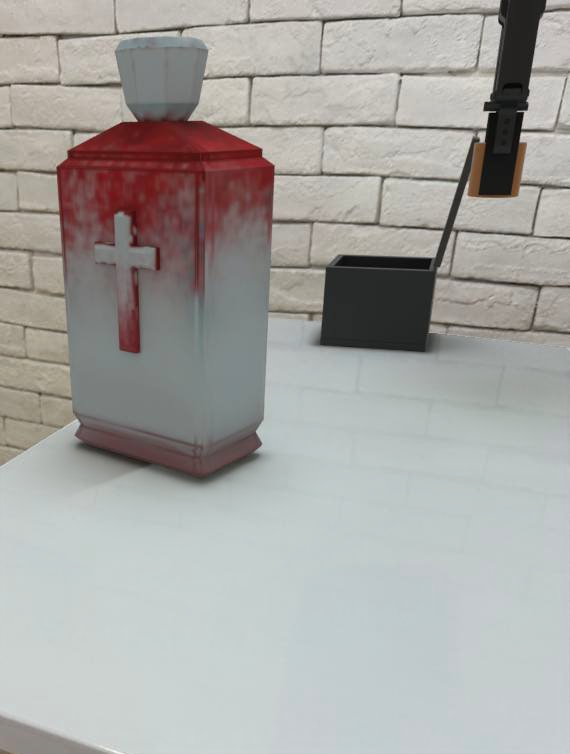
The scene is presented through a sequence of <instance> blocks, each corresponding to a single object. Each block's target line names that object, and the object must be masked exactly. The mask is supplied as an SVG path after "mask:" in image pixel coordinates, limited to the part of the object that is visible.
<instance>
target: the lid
mask: <svg viewBox="0 0 570 754" xmlns="http://www.w3.org/2000/svg"><path fill="white" fill-rule="evenodd" d="M478 142H481V137H480V136H475V135H473V136H472V137H471V141H470V144H469V148H468V151H467V153H466V157H465V160H464V163H463V164H464V165H463V166H462V170H461V173H460V176H459V180H458V182H457V186H456V189H455V193H454V195H453V199H452V202H451V204H450V205H451V206H450V208H449V211H448V215H447V217H446V221H445V225H444V228H443V231H442V234H441V238H440V241H439V244H438V247H437V250H436V254H435V257H434V258H435V261H434V265H433V266H435V267H438V268H441V266H442V263H443V259H444V256H445V254H446V250H447V247H448V244H449V241H450V238H451V234H452V231H453V228H454V226H455V222H456V219H457V215H458V212H459V209H460V206H461V202H462V199H463V196H464V193H465V190H466V187H467V184H468V182H469V178H470V172H471V165H472V158H473V151H474V144H475V143H478Z"/></svg>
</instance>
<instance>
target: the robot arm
mask: <svg viewBox="0 0 570 754" xmlns="http://www.w3.org/2000/svg"><path fill="white" fill-rule="evenodd" d="M547 2H548V1H547V0H500V2H499V8H498V15H497V22H498V24H499V25H500V26H501V29H500V38H499V43H498V51H497V57H496V64H495V72H494V76H493V85H492V92H491V93H490V95H489V100H490V101H484V102H483V110H482V112H484V113H485V112H488V114H487V122H486V128H485V136H484V142H486V144H485V151H484V158H483V165H482V172H481V179H480V186H479V193H478V195H511V192H512V185H513V179H514V173H515V167H516V160H517V154H518V148H519V142H521V135H522V129H523V124H524V123H523V122H524V118H525V117H524V116H525V112H528V110H529V106H530V103H529V101H528V99H529V97H530V93H531V90H530V82H531V77H532V70H533V63H534V57H535V52H536V44H537V38H538V33H539V32H538V31H539V26H540V21H541V19H542V18H543V17H544V13H545V11H546V8H547V7H546V6H547Z"/></svg>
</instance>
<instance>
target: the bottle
mask: <svg viewBox="0 0 570 754" xmlns="http://www.w3.org/2000/svg"><path fill="white" fill-rule="evenodd" d="M209 52H210V50H209V48H208V47H207V46H206V44H205V42H204V41H203V40H202V39H199V38H196V37H191V36H169V35H159V36H140V37H132V38H129V39H128V38H127V39H122V40H120V42H119V43H118V45H117V46H116V48H115V49H114V55H115V60H116V64H117V69H118V73H119V74H118V75H119V79H120V84H121V88H122V92H123V93H122V94H123V97H124V103H125V105H126V107H127V108H128V110H129V111H130V113H131V115H133V117H134V118H135V119H136V121H121V122H119V123H116V124H115V125H113V126H112V127H110V128H108V129H106V130H104V131H102V132H100V133H98V134H96V135H94V136H92V137H90V138H89V139H86V140H84V141H83V142H80V143H78V144H77V145H75V146H73V147H72V148H70V149H68V150H67V151H66V154H67V156H66V157H67V158H65V159H64V160H63V161H61V162H60V163H59V164H58V165H56V166H55V168H56V169H55V170H56V183H57V199H58V214H59V227H60V228H59V229H60V243H61V257H62V258H61V259H62V273H63V286H64V287H63V289H64V303H65V316H66V333H67V347H68V349H67V350H68V363H69V377H70V378H69V379H70V391H71V392H70V393H71V407H72V413H73V414H74V415H73V416H75V418H76V420H77V421H78V422H79V426H78V428H76V429H77V430H76V431H75V433H74V437H76V439H78V440H80V441H82V442H83V443H85V444H86V445H88V446H92V447H95V448H98V449H102V450H105V451H108V452H111V453H114V454H118V455H122V456H125V457H128V458H131V459H135V460H138V461H140V462H141V461H142V462H145V463H148V464H151V465H155V466H158V467H161V468H165V469H168V470H172V471H174V472H176V473H177V472H178V473H181V474H185V475H187V476H191V477H194V478H197V479H200V480H203V479H205V478H207V477H209V476H211V475H213V474H215V473H217V472H218V471H221V470H222V469H225V468H227V467H230V465H231V466H232V464H235V463H236V462H239V461H241V460H242V459H244V458H247V457H249V456H250V455H251V454H253V453H255V452H256V451H257V450H259V449H260V448H261V447H262V446H263V442H262V440H261V438H260V437H259V435H258V433H257V431H258V429H259V427H260V426H261V424H262V423H263V422H264V420H265V419H264V418H265V402H266V401H265V400H266V399H265V398H266V376H267V373H266V371H267V356H268V355H267V353H268V330H269V311H270V310H269V309H270V307H269V306H270V287H271V285H270V284H271V263H272V262H271V259H272V239H273V219H274V218H273V216H274V196H275V195H274V193H275V172H276V171H275V170H276V169H275V168H276V165H275V164H273V162H271V161H270V160H268V159H267V158H265V157H264V156H263V152H264V151H263V148H262V147H260V146H258V145H256V144H253V143H251V142H249V141H247V140H245V139H243V138H241V137H238V136H236V135H234V134H232V133H230V132H227V131H225V130H223V129H221V128H219V127H217V126H215V125H213V124H211V123H209V122H207V121H204V120H189V119H190V118H191V116H192V115H193V113H194V112H195V110H196V108H197V107H198V105H199V104H200V100H201V93H202V88H203V84H204V77H205V73H206V66H207V62H208V56H209Z"/></svg>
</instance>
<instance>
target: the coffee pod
mask: <svg viewBox="0 0 570 754" xmlns="http://www.w3.org/2000/svg"><path fill="white" fill-rule="evenodd" d="M485 144H486V142H485V141H482V142H481V141H480V142H478V143H475V144H474V151H473V158H472V165H471V171H470V174H469V178H468V186H467V193H466V195H467V196H468V197H471V198H478V199H479V198H483V199H509V198H510V199H511V198H517V197H519V195H520V189H521V184H522V183H521V182H522V177H523V170H524V164H525V159H526V153H527V148H528V142H527V141H520V142H519V148H518V154H517V160H516V167H515V173H514V179H513V185H512V192H511V195H478V193H479V186H480V179H481V172H482V165H483V158H484V151H485Z"/></svg>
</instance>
